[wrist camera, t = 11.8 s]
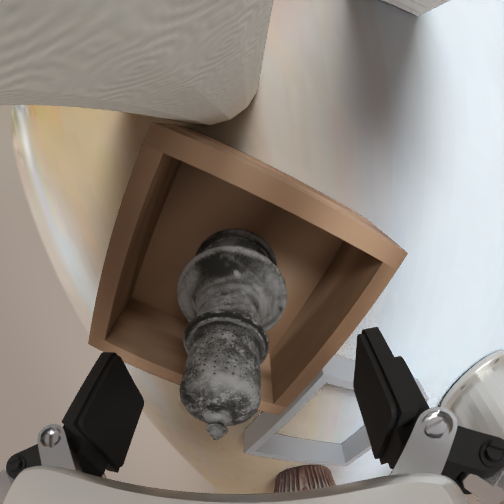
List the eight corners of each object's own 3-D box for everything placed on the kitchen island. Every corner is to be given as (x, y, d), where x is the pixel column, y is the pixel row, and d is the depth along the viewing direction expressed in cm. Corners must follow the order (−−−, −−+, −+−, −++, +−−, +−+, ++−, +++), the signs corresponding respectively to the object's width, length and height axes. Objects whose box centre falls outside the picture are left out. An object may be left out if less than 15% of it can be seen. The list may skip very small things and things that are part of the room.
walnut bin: (365, 218, 18) (407, 253, 13) (273, 357, 23) (279, 415, 17) (183, 126, 16) (152, 122, 11) (121, 294, 21) (88, 343, 15)
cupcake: (257, 473, 32) (258, 533, 23) (321, 455, 30) (333, 519, 21) (287, 489, 35) (292, 539, 26) (344, 472, 33) (354, 525, 24)
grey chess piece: (243, 321, 20) (235, 483, 9) (172, 274, 19) (100, 428, 8) (300, 262, 18) (351, 426, 7) (226, 204, 17) (179, 341, 6)
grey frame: (418, 379, 25) (428, 399, 22) (341, 447, 29) (346, 466, 27) (316, 348, 23) (323, 373, 20) (244, 430, 27) (243, 453, 24)
